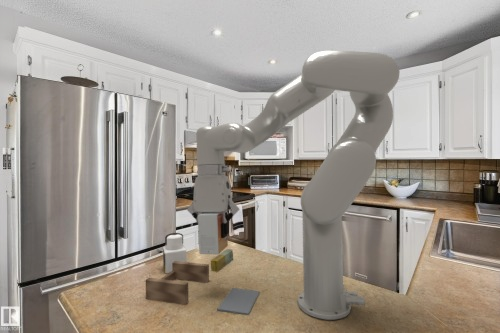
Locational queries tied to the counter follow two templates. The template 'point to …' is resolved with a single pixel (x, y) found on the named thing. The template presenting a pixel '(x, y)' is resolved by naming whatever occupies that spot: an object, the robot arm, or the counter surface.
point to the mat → (239, 301)
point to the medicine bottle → (173, 251)
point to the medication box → (221, 260)
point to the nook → (176, 282)
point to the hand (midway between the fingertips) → (213, 235)
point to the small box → (210, 234)
